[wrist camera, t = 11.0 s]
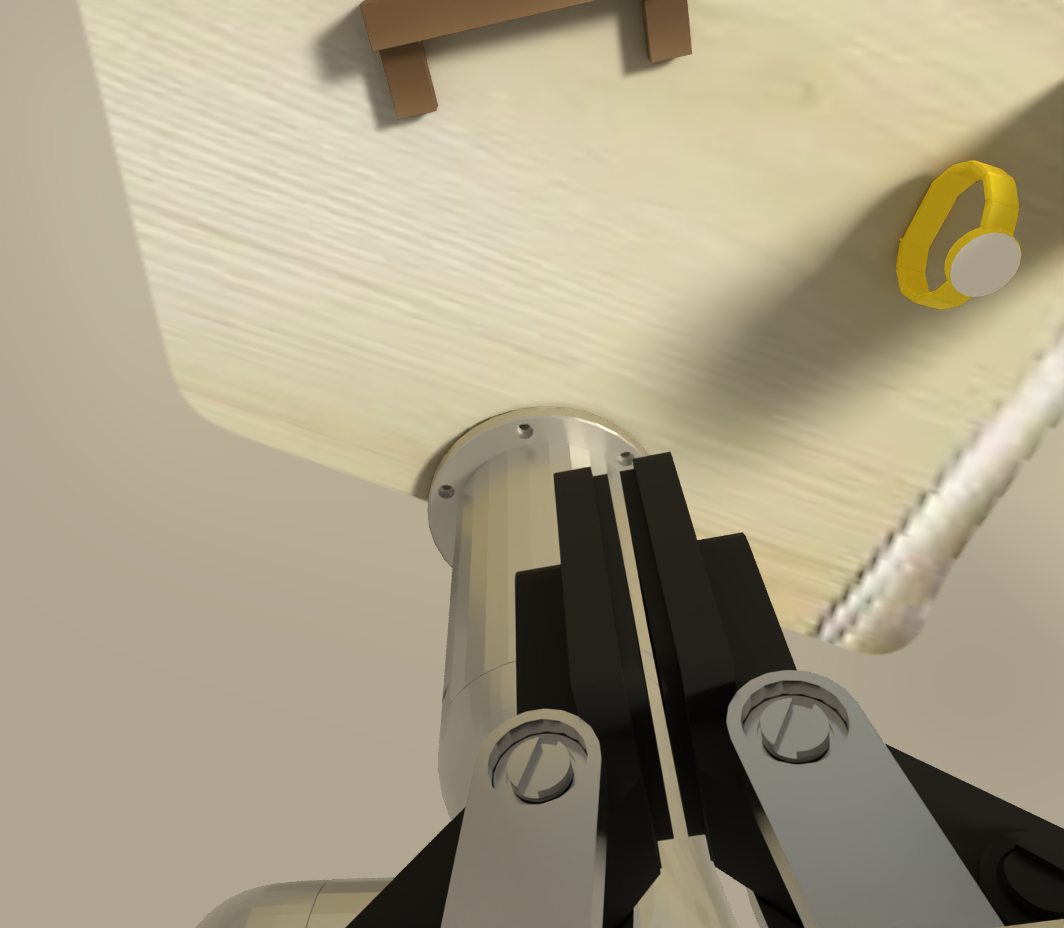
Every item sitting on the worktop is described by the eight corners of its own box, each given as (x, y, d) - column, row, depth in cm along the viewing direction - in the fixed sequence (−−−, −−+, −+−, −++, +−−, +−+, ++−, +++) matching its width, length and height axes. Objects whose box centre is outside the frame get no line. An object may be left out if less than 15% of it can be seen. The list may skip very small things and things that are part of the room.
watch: (920, 278, 41) (970, 342, 37) (868, 263, 41) (912, 325, 36) (995, 156, 38) (1061, 209, 33) (939, 138, 37) (998, 189, 33)
